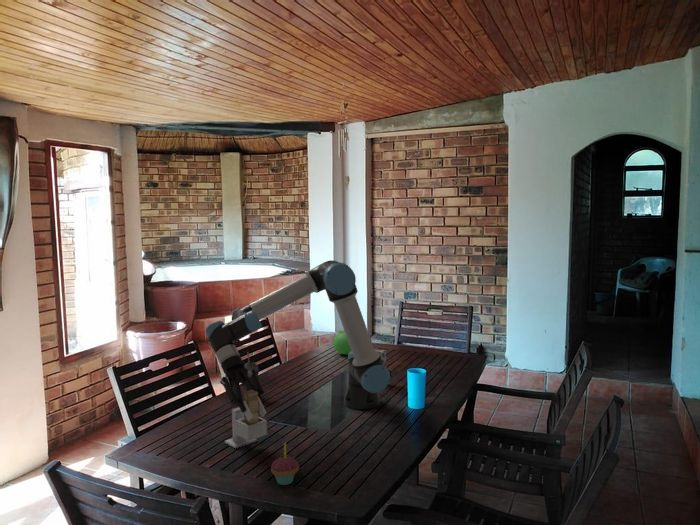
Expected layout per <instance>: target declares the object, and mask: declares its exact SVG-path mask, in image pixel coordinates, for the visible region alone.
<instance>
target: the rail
mask: <svg viewBox="0 0 700 525" xmlns="http://www.w3.org/2000/svg"><path fill="white" fill-rule="evenodd" d="M243 401H246V403H247V405H248V407H249V409H250V411H251V413H252V416H253V418H252V419H251V421H249V422H248V420H247V418H246V416H245V414H244V423H245V424H247V425H251V424H254V423H257V422H258V416H259V411H258V392H256V391H254V390H250V391H244V392H243Z"/></svg>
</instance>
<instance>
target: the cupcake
mask: <svg viewBox="0 0 700 525" xmlns="http://www.w3.org/2000/svg"><path fill="white" fill-rule="evenodd" d="M299 470H300V464H299V462H298V461H297V460H296V459H295V458H293V457H290V456H287V443H286V442H284V443H283V456H281V457H279V458H276V459H275V460H274V461H273V462H272V464H271V465H270V472H271V473H272V475H274V477H275V480H276V483H277V484H278V485H282V486H286V485H287V486H289V485H291V484H292V483H293V481H294V477H295V475H296V474H297V472H298V471H299Z"/></svg>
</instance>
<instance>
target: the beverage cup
mask: <svg viewBox="0 0 700 525" xmlns="http://www.w3.org/2000/svg"><path fill="white" fill-rule="evenodd" d="M246 355H247V361H248V362H246V363H244V367H245V368H246V369H247V370H248V371H252V370H255V373H256V377H257V379H258V380H259V373H260V372H259V371H260V369H259V365H258V364H257V363H256V362H255V361H250V354H249V351H247V354H246ZM247 376H248V378H249V379H250V377H249V375H248V374H247ZM250 382H251V380H250ZM251 383H252V382H251ZM244 389H245V391H244V392H246V391H249V390H248V389H247V388H246V387H245V386H244Z"/></svg>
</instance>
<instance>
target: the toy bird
mask: <svg viewBox="0 0 700 525" xmlns="http://www.w3.org/2000/svg"><path fill="white" fill-rule="evenodd" d="M332 344H333V347H334V349H335V351H337V353H339V354H341V355H345V356H348V354H349V352H351V351H352V350H351V347H350V344H349V342H348V339H347V336H346V333H345V331H344V330H343V331H342V330H337V334H336V335H334V339H333V343H332Z"/></svg>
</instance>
